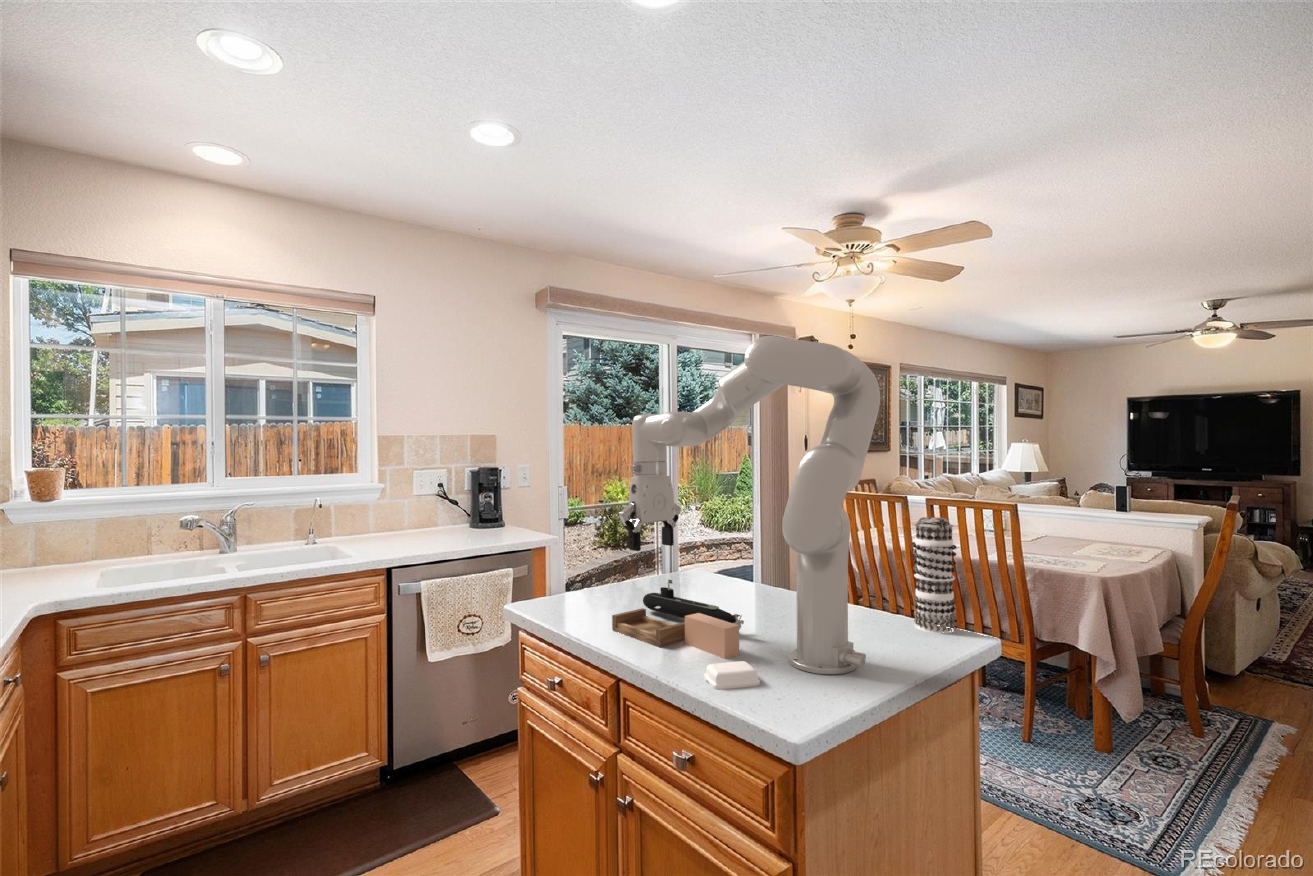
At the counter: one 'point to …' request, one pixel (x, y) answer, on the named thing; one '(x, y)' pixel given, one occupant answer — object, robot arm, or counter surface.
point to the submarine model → (685, 606)
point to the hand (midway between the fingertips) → (651, 547)
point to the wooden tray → (648, 628)
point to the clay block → (712, 635)
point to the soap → (731, 675)
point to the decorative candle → (934, 575)
